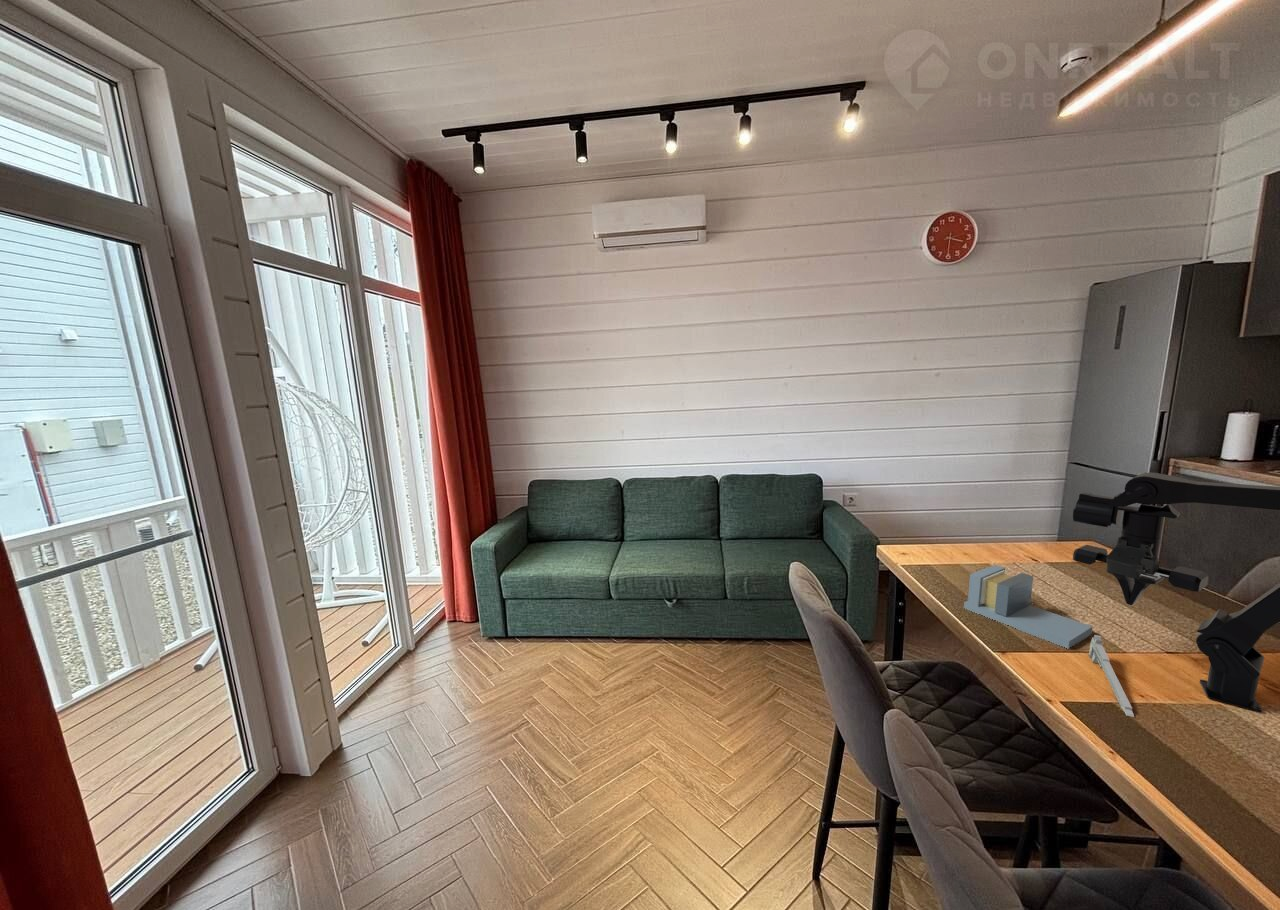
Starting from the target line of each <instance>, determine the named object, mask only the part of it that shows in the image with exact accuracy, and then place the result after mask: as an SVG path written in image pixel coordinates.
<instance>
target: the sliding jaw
mask: <svg viewBox="0 0 1280 910" xmlns="http://www.w3.org/2000/svg"><path fill="white" fill-rule="evenodd" d="M1033 582H1034V575H1030V574H1027V573H1023V572H1020V573H1018V574H1015V575H1013V576H1012V577H1011V578H1009V579H1006V580H1004V581H1002V582H999V583H997V593H996V603H995V613H998V614H1001V615H1003V616H1008V615H1010V614H1012V613H1014V612H1016V611H1018V610H1020V609H1022V608H1024V607H1026V606H1028V605H1031V601H1032V600H1031V599H1032V592H1033Z"/></svg>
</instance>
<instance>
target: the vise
mask: <svg viewBox="0 0 1280 910" xmlns="http://www.w3.org/2000/svg"><path fill="white" fill-rule="evenodd" d="M1000 574H1006V567H1004V566H1000V565H997V564H993V565H991V566H988V567H984V569H980V570H978V571H975V572H973V573H970V574H969V581H968V582H969V584H968V596H967V600H966V601H965V600H964V603H963V609H964V608H965V609H964V610H966V609H967V610H966V611H969V610H970V611H969V612H971V611H972V613H974V612H975V613H974V614H976V613H977V614H976V615H979V614H981V615H983V616H982V617H984V616H985V617H984V618H987V617H988V618H987V619H989V618H990V619H989V620H992V619H993V620H992V621H994V620H996V621H995V622H997V621H998V622H997V623H999V622H1001V623H1000V624H1002V623H1004V624H1003V625H1005V624H1006V625H1005V626H1007V625H1009V626H1008V627H1010V626H1012V627H1014V628H1013V629H1015V628H1016V629H1015V630H1017V629H1018V631H1020V630H1021V631H1020V632H1023V633H1025V632H1026V634H1028V635H1030V634H1031V635H1030V636H1033V637H1035V636H1036V638H1038V637H1039V638H1038V639H1041V638H1042V639H1041V640H1043V639H1045V640H1044V641H1046V640H1047V641H1046V642H1048V641H1050V642H1049V643H1051V642H1052V643H1051V644H1053V643H1054V644H1053V645H1056V644H1057V645H1056V646H1059V645H1060V646H1059V647H1061V646H1063V647H1062V648H1064V647H1065V648H1064V649H1066V648H1067V650H1070V649H1071V648H1072V646H1073V647H1074V646H1076V645H1077V644H1079V643H1080V642H1082V641H1083V640H1085V639H1087V638H1088V637H1090V636H1091V635H1092V634H1093V626H1092V625H1089V624H1086V623H1083V622H1080V621H1077V620H1075V619H1072V618H1069V617H1066V616H1063V615H1060V614H1057V613H1055V612H1050V611H1048V610H1047V609H1042V608H1039V607H1037V606H1033V605H1031V604H1030V605H1028V606H1026V607H1024V608H1022V609H1020V610H1018V611H1016V612H1014V613H1012V614H1010V615H1008V616H1003V615H1001V614H998V613H995V609H992V608H989V607H987V606H984V600H985V589H986V580H988V579H991V578H993V577H995V576H998V575H1000ZM981 615H980V616H981ZM1012 627H1011V628H1012ZM1075 644H1076V645H1075ZM1070 647H1071V648H1070Z"/></svg>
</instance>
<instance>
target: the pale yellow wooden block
mask: <svg viewBox="0 0 1280 910" xmlns="http://www.w3.org/2000/svg"><path fill="white" fill-rule="evenodd" d="M1011 577H1013V576H1011V575H1009V574H1006V573H1005V574H1000V575H998V576H995V577H993V578H991V579H988V580H986V589H985V600H984V606H987V607H989V608H992V609H995V603H996V593H997V583H999V582H1002V581H1004V580H1006V579H1009V578H1011Z"/></svg>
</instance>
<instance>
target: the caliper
mask: <svg viewBox="0 0 1280 910" xmlns="http://www.w3.org/2000/svg"><path fill="white" fill-rule="evenodd" d="M1102 643H1103V639H1102V636H1101V635H1097V634H1094V635H1093V637H1092V638H1091V641H1090V644H1089V653H1088V657H1089V659H1091V663H1093V662H1094V663H1093V664H1098V666H1099V668H1100V669H1102V671H1103V672H1104V675H1105V677H1106V678H1107V681H1108V683H1109V685H1110V687H1111V689H1112V691H1113V694H1114V696H1115V698H1116V700H1117V702H1118V704H1119V706H1120V708H1121V710H1122V711H1123V712H1124V713H1125V716H1126V717H1127V716H1128V717H1130V718H1131V717H1132V718H1135V714H1134V713H1133V707H1132V705H1131V703H1130V701H1129V699H1128V696H1127V695H1126V693H1125V690H1124V689H1123V687H1122V684H1121V683H1120V680H1119V678H1118V677H1117V674H1116V673H1115V670H1114V669H1113V666H1112V664H1111V663H1110V658H1109V656H1108V654H1107V652H1106V650H1105V648H1104V646H1103V645H1102Z"/></svg>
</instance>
